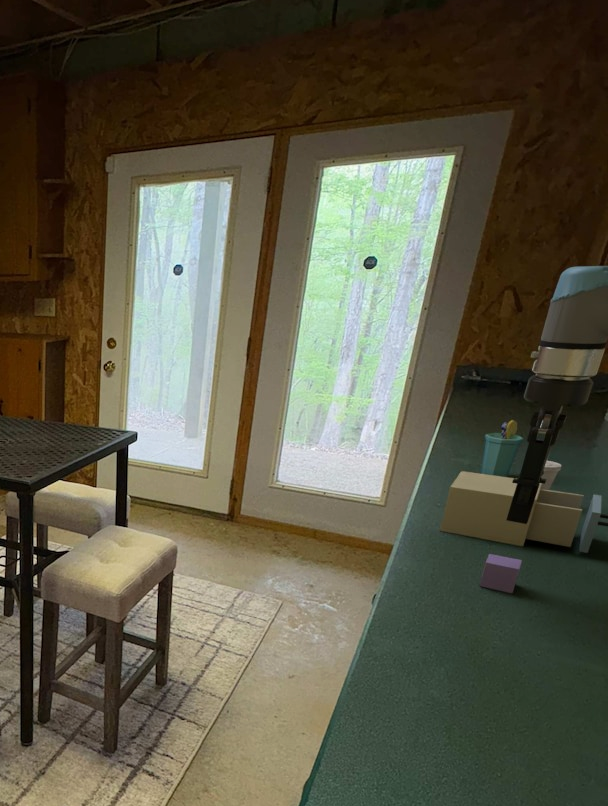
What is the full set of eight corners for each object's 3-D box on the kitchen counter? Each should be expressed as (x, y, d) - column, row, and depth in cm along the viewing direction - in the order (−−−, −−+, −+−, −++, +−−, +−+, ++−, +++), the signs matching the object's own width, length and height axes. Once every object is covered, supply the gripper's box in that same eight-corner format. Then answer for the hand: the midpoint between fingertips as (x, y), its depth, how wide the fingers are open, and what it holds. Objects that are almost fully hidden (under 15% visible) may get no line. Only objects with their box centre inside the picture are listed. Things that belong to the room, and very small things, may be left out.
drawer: (623, 538, 120) (636, 500, 117) (624, 559, 111) (638, 519, 108) (509, 519, 131) (519, 484, 128) (502, 537, 122) (513, 499, 119)
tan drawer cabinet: (529, 526, 129) (542, 482, 126) (523, 546, 120) (536, 499, 116) (451, 512, 138) (461, 471, 134) (439, 530, 128) (450, 486, 125)
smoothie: (519, 508, 139) (537, 446, 134) (508, 498, 145) (525, 439, 140) (554, 510, 137) (573, 448, 132) (542, 500, 143) (559, 441, 138)
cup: (507, 487, 152) (524, 426, 147) (469, 481, 157) (484, 422, 152) (515, 474, 162) (531, 416, 156) (479, 469, 167) (493, 413, 161)
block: (515, 584, 106) (522, 560, 104) (512, 593, 103) (519, 569, 101) (482, 577, 109) (489, 553, 107) (479, 586, 106) (485, 562, 104)
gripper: (535, 369, 101) (495, 505, 110) (524, 379, 92) (482, 526, 101) (597, 373, 96) (550, 515, 105) (592, 384, 87) (541, 538, 96)
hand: (516, 520), depth 103 cm, fingers closed
